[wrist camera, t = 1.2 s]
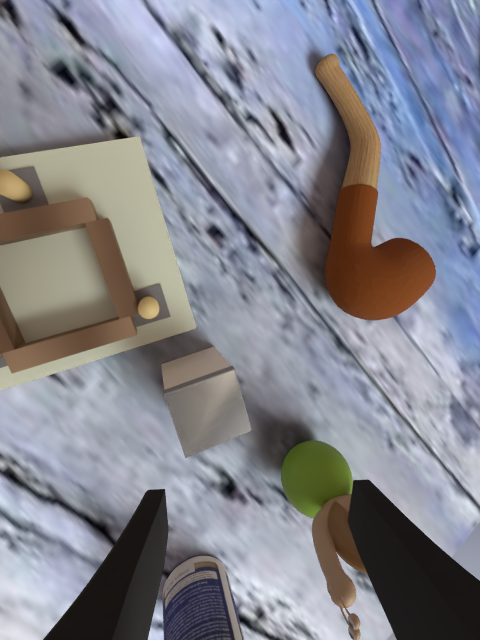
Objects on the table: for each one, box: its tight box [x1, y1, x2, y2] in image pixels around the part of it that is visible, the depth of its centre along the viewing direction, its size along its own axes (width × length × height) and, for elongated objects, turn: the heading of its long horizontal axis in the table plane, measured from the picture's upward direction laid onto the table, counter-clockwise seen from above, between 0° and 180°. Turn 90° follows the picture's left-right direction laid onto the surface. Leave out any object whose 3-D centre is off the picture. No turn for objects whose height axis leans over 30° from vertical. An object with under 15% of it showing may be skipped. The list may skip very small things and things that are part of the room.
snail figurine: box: [281, 441, 367, 640], centre depth 20 cm, size 5×6×12 cm
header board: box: [0, 136, 196, 391], centre depth 16 cm, size 18×12×3 cm, turn 105°
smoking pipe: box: [315, 54, 436, 320], centre depth 20 cm, size 7×18×6 cm, turn 20°
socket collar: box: [0, 197, 139, 373], centre depth 17 cm, size 8×8×2 cm
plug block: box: [161, 346, 252, 458], centre depth 19 cm, size 4×4×6 cm
